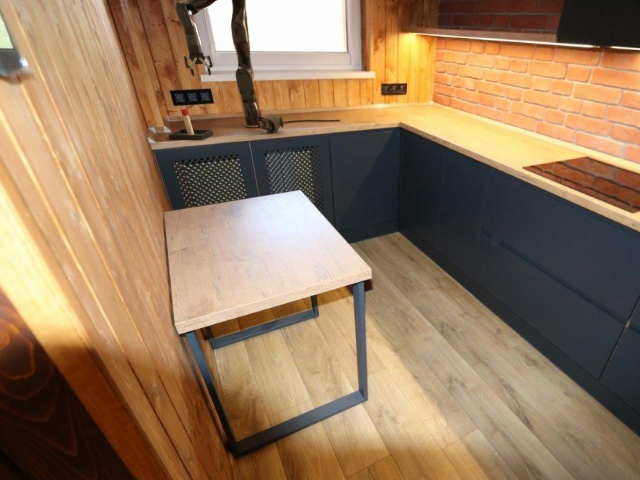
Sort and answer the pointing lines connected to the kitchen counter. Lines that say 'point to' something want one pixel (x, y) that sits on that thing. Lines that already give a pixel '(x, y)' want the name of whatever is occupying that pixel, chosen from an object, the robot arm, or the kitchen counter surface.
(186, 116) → the marker
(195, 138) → the tray
